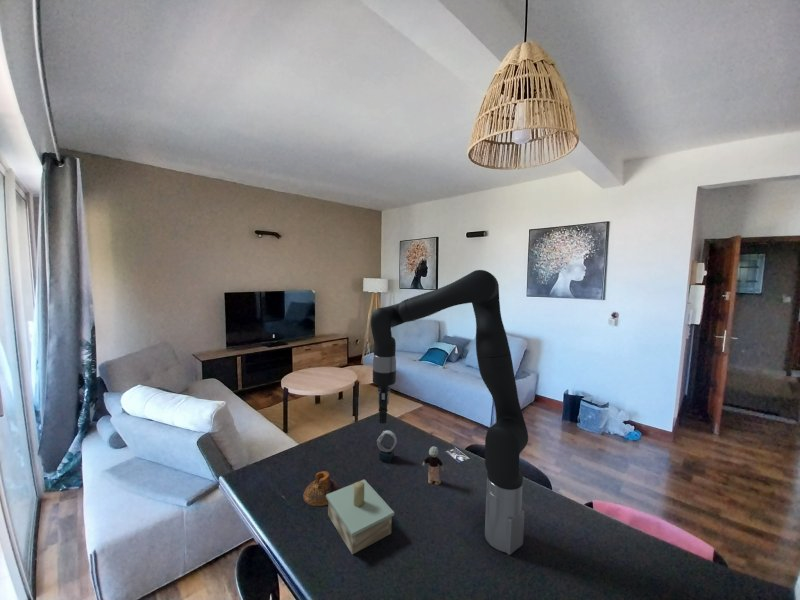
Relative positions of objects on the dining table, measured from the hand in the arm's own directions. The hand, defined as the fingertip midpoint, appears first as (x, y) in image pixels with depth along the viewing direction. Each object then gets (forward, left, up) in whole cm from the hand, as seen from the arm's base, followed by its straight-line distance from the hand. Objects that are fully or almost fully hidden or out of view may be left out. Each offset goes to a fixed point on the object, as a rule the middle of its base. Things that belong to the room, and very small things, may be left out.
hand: (383, 417), depth 101 cm
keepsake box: (-8, +13, -26) cm, 30 cm away
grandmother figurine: (-5, -18, -26) cm, 32 cm away
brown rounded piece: (+10, +17, -27) cm, 33 cm away
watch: (+16, -12, -26) cm, 33 cm away
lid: (-8, +13, -20) cm, 25 cm away
